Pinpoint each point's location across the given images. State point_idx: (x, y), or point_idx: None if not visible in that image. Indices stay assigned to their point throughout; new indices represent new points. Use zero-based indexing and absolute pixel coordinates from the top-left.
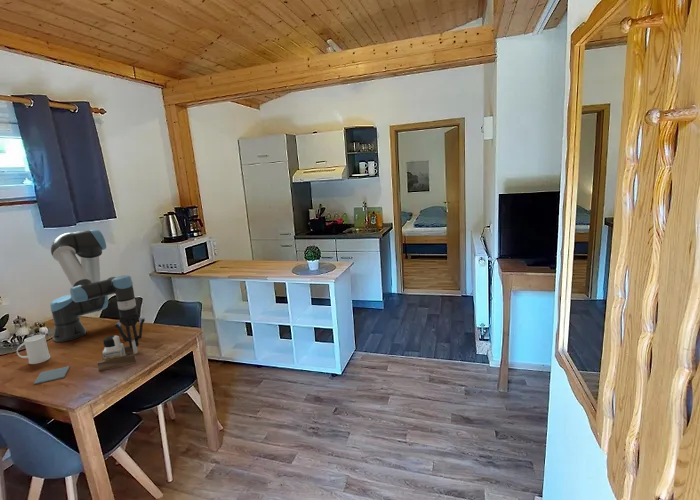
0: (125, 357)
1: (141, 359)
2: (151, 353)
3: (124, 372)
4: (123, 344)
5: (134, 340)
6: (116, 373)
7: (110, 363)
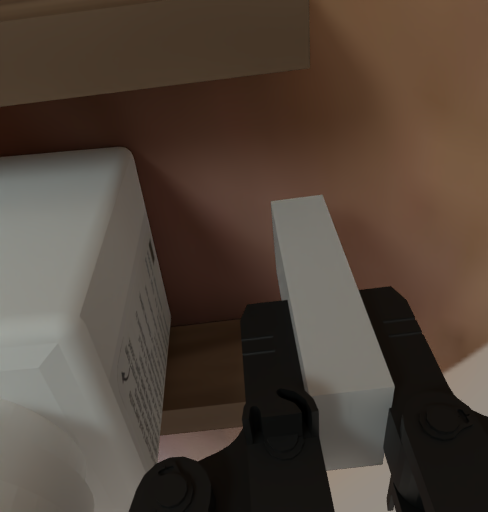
0: (215, 423)
1: None
2: (483, 174)
3: (229, 440)
4: (92, 321)
5: (372, 440)
6: (166, 437)
7: None
